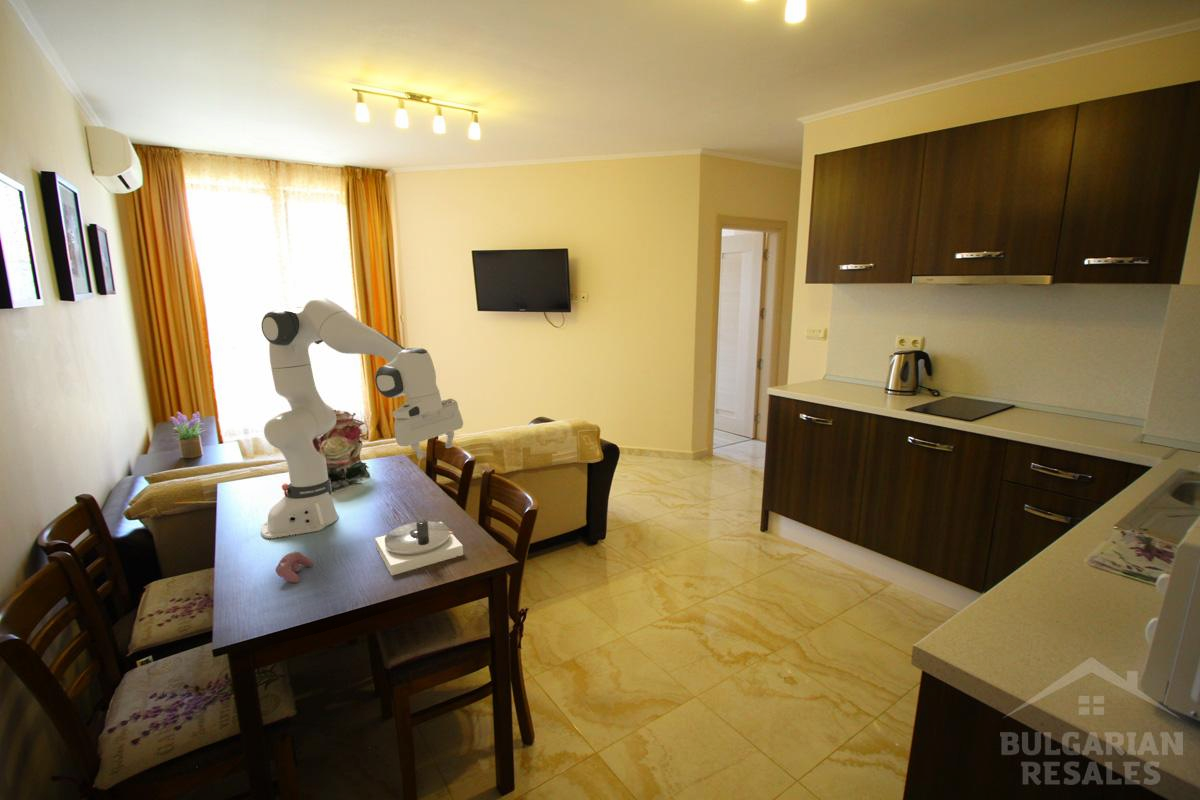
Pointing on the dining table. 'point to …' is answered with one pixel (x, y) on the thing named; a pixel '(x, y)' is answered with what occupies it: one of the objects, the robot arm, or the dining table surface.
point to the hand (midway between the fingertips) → (436, 452)
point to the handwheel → (417, 538)
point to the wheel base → (411, 562)
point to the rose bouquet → (343, 451)
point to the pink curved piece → (292, 566)
